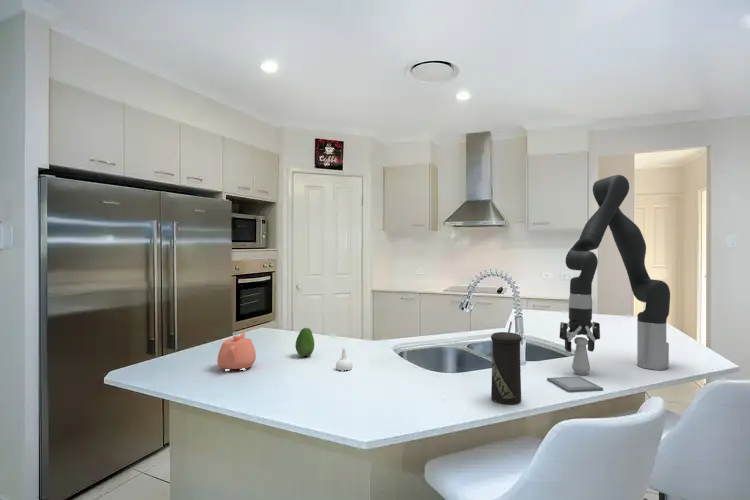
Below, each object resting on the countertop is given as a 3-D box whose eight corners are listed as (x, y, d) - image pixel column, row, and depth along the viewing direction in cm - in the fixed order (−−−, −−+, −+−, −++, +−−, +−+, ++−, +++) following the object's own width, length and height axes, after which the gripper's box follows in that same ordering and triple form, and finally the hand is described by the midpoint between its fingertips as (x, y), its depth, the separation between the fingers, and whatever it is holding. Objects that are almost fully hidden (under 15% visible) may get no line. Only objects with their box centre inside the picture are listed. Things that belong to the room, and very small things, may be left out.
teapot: (260, 360, 168) (260, 330, 168) (249, 375, 148) (249, 341, 148) (226, 360, 167) (226, 330, 167) (211, 376, 147) (211, 342, 147)
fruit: (318, 355, 174) (318, 327, 174) (305, 360, 168) (305, 330, 167) (304, 353, 178) (304, 325, 178) (291, 357, 172) (291, 328, 172)
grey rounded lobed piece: (592, 376, 146) (592, 339, 146) (574, 375, 147) (574, 339, 147) (586, 371, 152) (587, 336, 151) (570, 370, 153) (570, 335, 153)
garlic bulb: (355, 370, 155) (357, 349, 156) (343, 372, 151) (345, 350, 151) (344, 367, 160) (345, 346, 160) (332, 369, 155) (333, 347, 156)
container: (486, 395, 128) (486, 330, 128) (514, 394, 129) (514, 329, 129) (497, 405, 119) (497, 336, 119) (527, 404, 120) (527, 335, 120)
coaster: (579, 378, 144) (579, 376, 144) (603, 390, 132) (603, 387, 132) (547, 380, 142) (547, 377, 142) (568, 392, 130) (568, 389, 130)
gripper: (591, 304, 154) (590, 348, 154) (556, 305, 152) (555, 349, 152) (605, 307, 147) (604, 353, 147) (568, 308, 145) (567, 354, 145)
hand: (579, 351), depth 149 cm, fingers open, 8 cm apart
